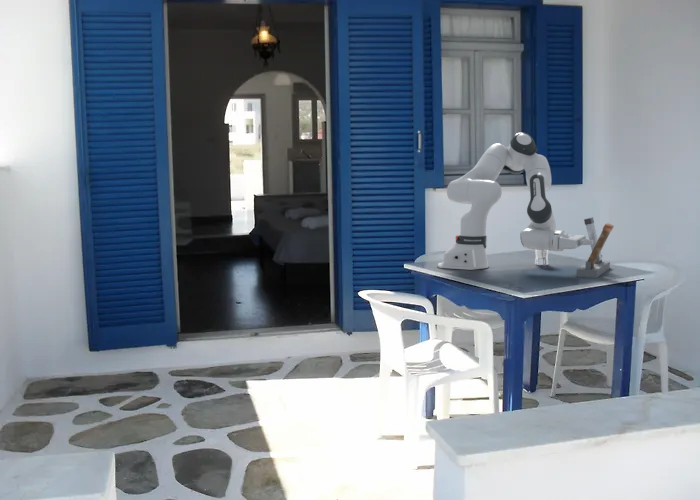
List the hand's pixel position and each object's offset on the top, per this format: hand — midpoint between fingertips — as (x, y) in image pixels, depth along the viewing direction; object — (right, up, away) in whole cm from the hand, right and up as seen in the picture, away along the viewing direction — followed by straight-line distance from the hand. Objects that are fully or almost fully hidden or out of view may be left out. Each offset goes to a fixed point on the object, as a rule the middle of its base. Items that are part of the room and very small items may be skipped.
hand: (592, 242), depth 307 cm
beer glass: (-13, -10, +33) cm, 36 cm away
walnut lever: (-1, -10, +2) cm, 10 cm away
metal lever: (+8, -8, +17) cm, 21 cm away
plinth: (+4, -13, +10) cm, 16 cm away
